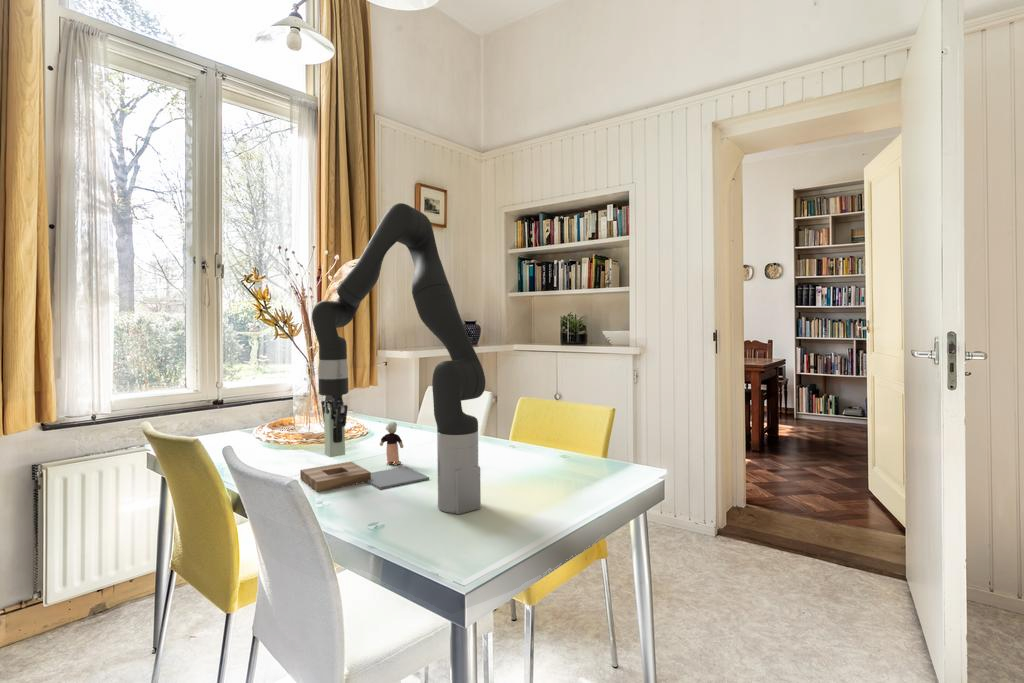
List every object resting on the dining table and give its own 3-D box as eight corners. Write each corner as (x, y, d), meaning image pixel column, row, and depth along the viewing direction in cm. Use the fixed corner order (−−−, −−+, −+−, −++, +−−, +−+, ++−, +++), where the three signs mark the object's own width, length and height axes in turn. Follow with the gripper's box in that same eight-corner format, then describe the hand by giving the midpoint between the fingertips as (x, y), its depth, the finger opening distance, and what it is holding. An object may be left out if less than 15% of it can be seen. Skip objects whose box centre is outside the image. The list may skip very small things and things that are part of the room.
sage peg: (345, 454, 141) (344, 413, 140) (329, 457, 138) (329, 415, 138) (339, 452, 144) (339, 411, 144) (324, 454, 141) (324, 413, 141)
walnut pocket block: (370, 481, 140) (370, 472, 140) (316, 491, 132) (316, 481, 132) (351, 470, 151) (351, 461, 151) (300, 479, 143) (300, 469, 143)
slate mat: (429, 479, 142) (429, 477, 142) (379, 489, 133) (379, 487, 133) (405, 468, 153) (405, 466, 153) (358, 477, 144) (358, 474, 144)
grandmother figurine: (406, 462, 159) (406, 420, 159) (402, 466, 155) (402, 423, 155) (381, 462, 160) (381, 420, 160) (377, 465, 156) (376, 422, 156)
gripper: (357, 377, 137) (358, 443, 138) (338, 373, 148) (339, 434, 149) (328, 379, 133) (329, 447, 133) (310, 375, 144) (311, 438, 144)
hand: (334, 440), depth 141 cm, fingers closed on sage peg, 4 cm apart
